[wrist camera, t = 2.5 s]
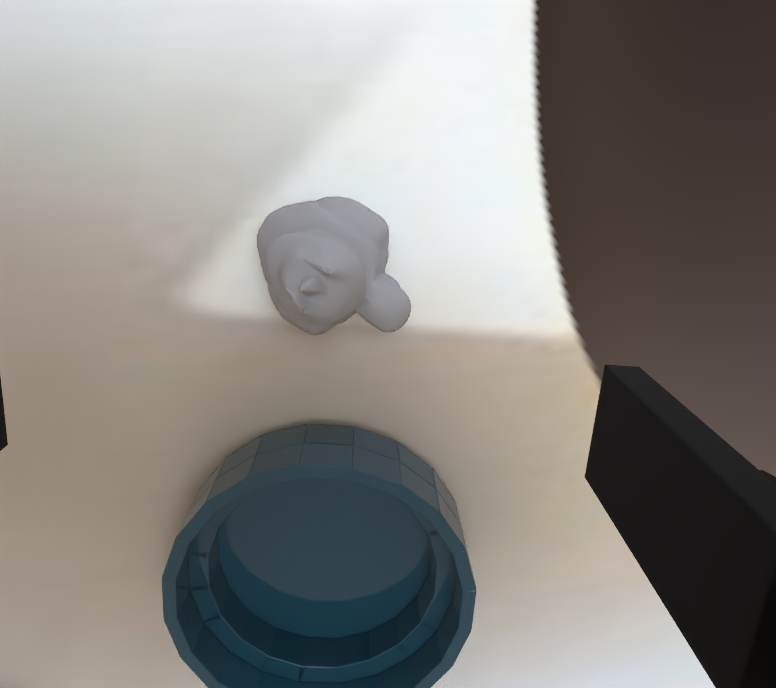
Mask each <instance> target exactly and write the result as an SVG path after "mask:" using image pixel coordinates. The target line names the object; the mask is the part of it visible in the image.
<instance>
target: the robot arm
mask: <svg viewBox="0 0 776 688" xmlns="http://www.w3.org/2000/svg"><path fill="white" fill-rule="evenodd" d="M7 445H8V443H7V433H6V424H5V415H4V405H3V396H2V387H1V378H0V451H1V450H2V449H3V448H4V447H6V446H7ZM585 478H586V480H587V481H588V483H589V485H590V486H591V488H592V489H593V491H594V493H595V494H596V496H597V497H598V499H599V501H600V502H601V504H602V505H603V507H604V509H605V510H606V512H607V513H608V515H609V517H610V518H611V520H612V522H613V523H614V525H615V526H616V528H617V530H618V531H619V533H620V534H621V536H622V538H623V539H624V541H625V542H626V544H627V546H628V547H629V549H630V550H631V552H632V554H633V555H634V557H635V559H636V560H637V562H638V563H639V565H640V567H641V568H642V570H643V571H644V573H645V575H646V576H647V578H648V579H649V581H650V583H651V584H652V586H653V587H654V589H655V591H656V592H657V594H658V596H659V597H660V599H661V600H662V602H663V604H664V605H665V607H666V608H667V610H668V612H669V613H670V615H671V616H672V618H673V620H674V621H675V623H676V625H677V626H678V628H679V629H680V631H681V633H682V634H683V636H684V637H685V639H686V641H687V642H688V644H689V645H690V647H691V649H692V650H693V652H694V653H695V655H696V657H697V658H698V660H699V662H700V663H701V665H702V666H703V668H704V670H705V671H706V673H707V674H708V676H709V678H710V679H711V681H712V682H713V684H714V686H715V687H716V688H776V477H775V476H773V475H771V474H769V473H767V472H765V471H763V470H758V469H757V468H756V467H755V466H753V465H752V464H751V463H750V462H748V460H746V459H745V458H744V457H743V456H742V455H740V454H739V453H738V452H737V451H736V450H735V449H734V448H733V447H731V446H730V445H729V444H728V443H727V442H726V441H724V440H723V439H722V438H721V437H720V436H718V435H717V434H716V433H715V432H714V431H713V430H712V429H710V428H709V427H708V426H707V425H706V424H705V423H704V422H702V421H701V420H700V419H699V418H698V417H697V416H695V415H694V414H693V413H692V412H691V411H690V410H688V409H687V408H686V407H685V406H684V405H683V404H681V403H680V402H679V401H678V400H677V399H676V398H675V397H673V396H672V395H671V394H670V393H669V392H667V391H666V390H665V389H664V388H663V387H662V386H661V385H659V384H658V383H657V382H656V381H655V380H654V379H652V378H651V377H650V376H649V375H648V374H647V373H646V372H644V371H643V370H642V369H641V368H640V367H631V366H617V365H605V367H604V373H603V378H602V383H601V389H600V394H599V400H598V406H597V411H596V417H595V423H594V428H593V434H592V439H591V445H590V451H589V456H588V462H587V467H586V473H585Z"/></svg>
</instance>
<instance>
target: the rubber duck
mask: <svg viewBox="0 0 776 688" xmlns="http://www.w3.org/2000/svg"><path fill="white" fill-rule="evenodd" d="M388 241H389V230H388V226H387V223H386V222H385V220H384V219H383V218H382V217H381V216H379V215H378V214H376V213H375V212H373V211H372V210H370V209H369V208H367V207H366V206H364V205H363V204H361V203H359V202H357V201H355V200H352V199H349V198H343V197H325V198H322V199H319V200H317V201H307V202H301V203H296V204H291V205H287V206H284V207H282V208H280V209H278V210H276V211H274V212H272V213H271V214H270V215H269V216H268V217H267V218H266V219H265V221H264V222H263V224H262V225H261V227H260V229H259V231H258V235H257V247H258V251H259V256H260V261H261V266H262V270H263V273H264V276H265V279H266V281H267V283H268V289H269V293H270V296H271V298H272V301H273V303H274V305H275V307H276V309H277V310H278V312H279V313H280V315H281V316H282V317H283V318H284V319H286V320H287V321H289V322H290V323H292V324H294V325H295V326H297V327H299V328H300V329H302V330H304V331H305V332H307V333H309V334H312V335H318V334H322V333H324V332H326V331H328V330H329V329H331V328H332V327H334V326H335V325H337V324H339V323H342V322H344V321H346V320H347V319H348V318H350V317H351V316H352V315H353V314H354V313H356V312H357V313H358V314H359V315H360V316H361V317H362V318H363V319H365V320H366V321H367V322H369V323H370V324H372V325H373V326H375V327H376V328H378V329H379V330H381V331H383V332H393V331H396V330H398V329H399V328H401V327H402V326H403V325H404V324H405V323H406V322H407V320H408V318H409V316H410V312H411V304H410V300H409V297H408V296H407V294H406V293H405V292H404V291H403V290H402V289H401V288H400V285H399V284H398V282H397V281H396V280H395V279H394V278H392V277H391V276H389V275H387V274H385V267H386V263H387V259H388Z"/></svg>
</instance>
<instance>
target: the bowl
mask: <svg viewBox="0 0 776 688" xmlns="http://www.w3.org/2000/svg"><path fill="white" fill-rule="evenodd" d="M162 592H163V614H164V621H165V623H166V626H167V628H168V630H169V632H170V635H171V637H172V639H173V642H174V644H175V646H176V648H177V651H178V653H179V655H180V657H181V658H182V660H183V661H184V662H185V663H186V664H187V665H188V666H189V667H190V669H191V670H192V671H193V672H194V673H195V674H196V675H197V676H198V677H199V678H200V679H201V681H202V682H203V683H204V684H205V685H206V686H207V687H208V688H431V687H432V686H433V685H434V684H435V683H436V682H437V681H438V680H439V679H440V678H441V677H442V676H443V675H444V674H445V673H446V672H447V671H448V670H450V669H451V667H452V666H453V665H454V663H455V661H456V659H457V657H458V655H459V653H460V651H461V649H462V647H463V645H464V644H465V642H466V640H467V638H468V636H469V634H470V632H471V629H472V622H473V614H474V606H475V598H476V585H475V581H474V577H473V572H472V568H471V564H470V559H469V555H468V551H467V546H466V542H465V538H464V534H463V530H462V526H461V522H460V518H459V514H458V510H457V506H456V502H455V500H454V498H453V497H452V495H451V494H450V493H449V491H448V490H447V488H446V487H445V485H444V484H443V482H442V481H441V479H440V478H439V477H438V475H437V474H436V472H435V471H434V469H433V468H431V466H429V465H428V464H427V463H425V462H424V461H423V460H421V459H420V458H419V457H417V456H416V455H415V454H413V453H412V452H411V451H409V450H408V449H407V448H405V447H404V446H403V445H401V444H400V443H398V442H396V441H394V440H391V439H389V438H386V437H383V436H380V435H377V434H374V433H371V432H369V431H366V430H363V429H360V428H357V427H352V426H334V425H313V424H309V425H308V424H306V425H302V426H297V427H293V428H289V429H285V430H281V431H277V432H273V433H269V434H265V435H262V436H260V437H259V438H257V439H255V440H254V441H252V442H251V443H249V444H247V445H246V446H244V447H242V448H241V449H239V450H237V451H236V452H234V453H232V454H231V455H229V456H227V457H226V458H225V459H224V460H223V461H222V463H221V464H220V465H219V466H218V467H217V468H216V470H215V471H214V472H213V473H212V474H211V476H210V477H209V478H208V479H207V480H206V482H205V483H204V484H203V485H202V486H201V488H200V489H199V491H198V493H197V495H196V497H195V499H194V501H193V503H192V505H191V508H190V510H189V512H188V514H187V516H186V518H185V520H184V522H183V524H182V526H181V528H180V530H179V532H178V534H177V536H176V538H175V541H174V544H173V547H172V550H171V553H170V556H169V558H168V561H167V564H166V567H165V570H164V573H163V576H162Z"/></svg>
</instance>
